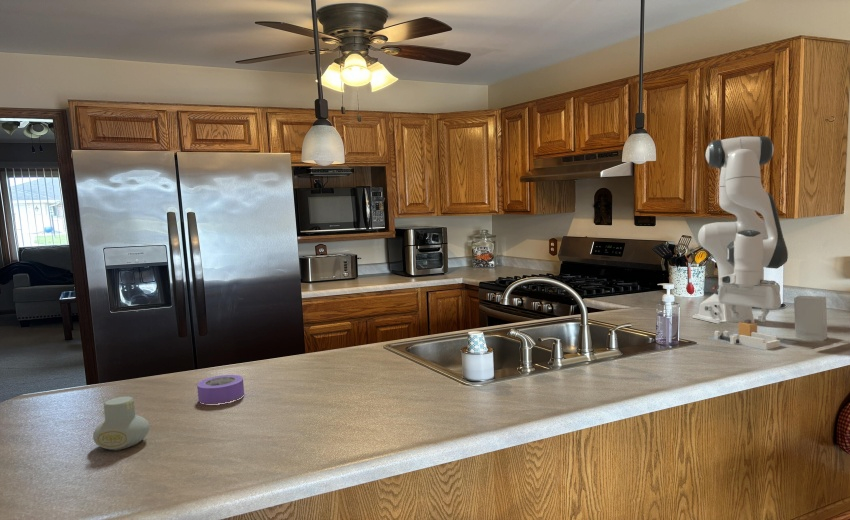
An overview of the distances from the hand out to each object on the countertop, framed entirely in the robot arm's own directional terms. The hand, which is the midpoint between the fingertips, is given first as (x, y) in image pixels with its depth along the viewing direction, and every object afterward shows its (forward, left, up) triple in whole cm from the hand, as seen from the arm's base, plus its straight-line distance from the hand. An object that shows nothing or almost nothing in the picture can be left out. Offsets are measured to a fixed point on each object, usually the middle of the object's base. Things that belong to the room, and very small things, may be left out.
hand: (748, 319), depth 196 cm
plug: (-1, +1, -6) cm, 6 cm away
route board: (+2, -2, -7) cm, 8 cm away
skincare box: (+11, +16, -8) cm, 21 cm away
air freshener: (-21, -188, -8) cm, 190 cm away
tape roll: (-42, -164, -8) cm, 170 cm away
